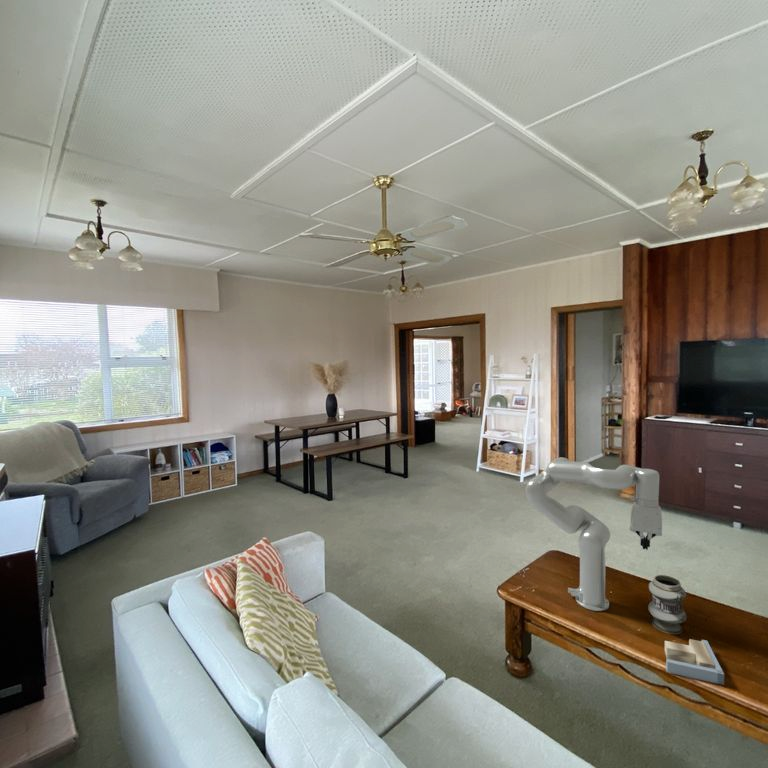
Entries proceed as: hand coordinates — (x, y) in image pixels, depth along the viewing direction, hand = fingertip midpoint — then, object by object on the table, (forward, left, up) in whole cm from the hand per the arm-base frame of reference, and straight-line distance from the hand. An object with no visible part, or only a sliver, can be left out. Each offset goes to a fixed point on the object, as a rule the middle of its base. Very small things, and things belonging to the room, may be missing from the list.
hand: (645, 548), depth 163 cm
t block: (+9, -20, -29) cm, 36 cm away
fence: (+10, -21, -29) cm, 37 cm away
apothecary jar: (+7, -2, -29) cm, 30 cm away
